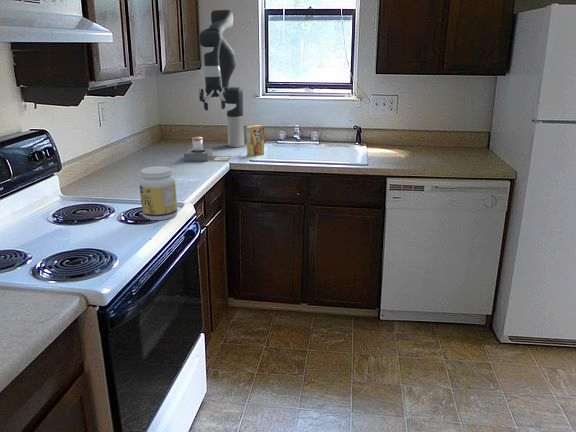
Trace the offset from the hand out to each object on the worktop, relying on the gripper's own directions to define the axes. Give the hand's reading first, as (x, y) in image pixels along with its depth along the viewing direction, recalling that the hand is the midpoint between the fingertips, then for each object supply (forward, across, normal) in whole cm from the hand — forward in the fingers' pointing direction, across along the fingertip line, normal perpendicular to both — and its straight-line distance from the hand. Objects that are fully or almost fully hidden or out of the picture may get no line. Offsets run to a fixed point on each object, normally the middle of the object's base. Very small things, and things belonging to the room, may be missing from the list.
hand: (214, 109), depth 254 cm
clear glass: (+25, +7, -9) cm, 28 cm away
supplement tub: (+26, +50, +67) cm, 88 cm away
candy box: (+27, -24, -6) cm, 37 cm away
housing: (+25, +7, -9) cm, 28 cm away
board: (+26, +3, -6) cm, 27 cm away
